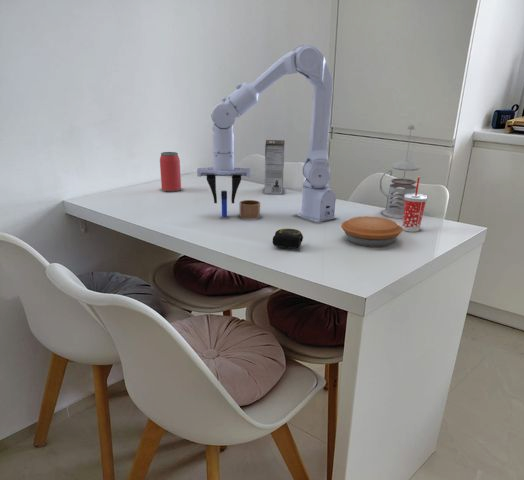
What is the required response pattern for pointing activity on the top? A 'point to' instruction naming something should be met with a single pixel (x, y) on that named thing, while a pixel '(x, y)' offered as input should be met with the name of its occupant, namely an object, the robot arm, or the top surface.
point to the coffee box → (274, 166)
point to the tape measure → (288, 238)
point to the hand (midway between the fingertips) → (224, 202)
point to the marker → (224, 203)
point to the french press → (398, 207)
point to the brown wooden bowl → (249, 209)
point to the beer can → (170, 171)
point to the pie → (371, 231)
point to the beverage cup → (413, 210)
